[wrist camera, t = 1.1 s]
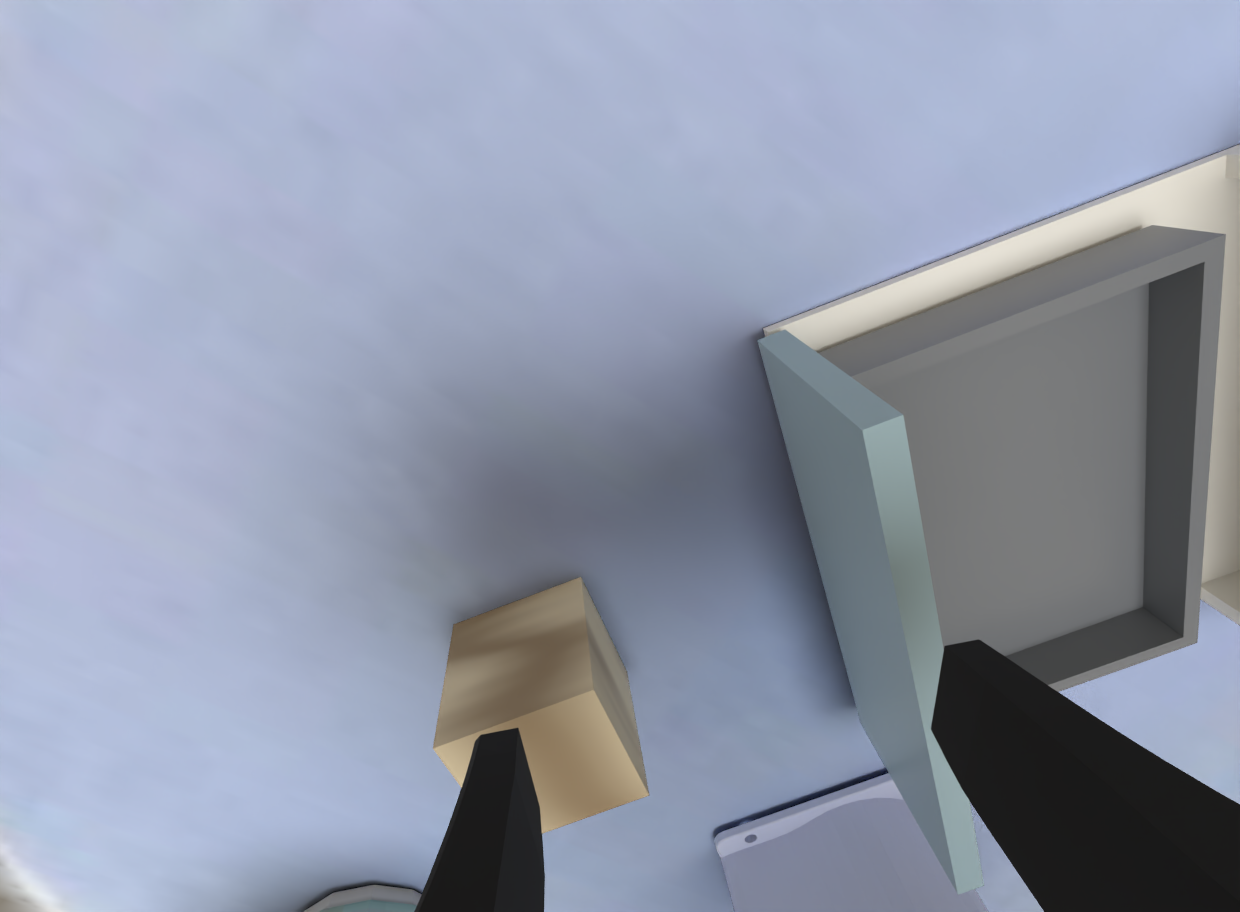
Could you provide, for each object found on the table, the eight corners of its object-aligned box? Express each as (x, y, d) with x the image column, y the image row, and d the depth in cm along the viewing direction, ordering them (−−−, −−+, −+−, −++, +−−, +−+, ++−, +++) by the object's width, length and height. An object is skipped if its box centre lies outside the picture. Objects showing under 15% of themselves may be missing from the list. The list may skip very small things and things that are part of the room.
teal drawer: (860, 724, 25) (958, 894, 19) (757, 340, 18) (862, 430, 12) (1144, 623, 24) (1329, 767, 19) (1152, 187, 17) (1454, 207, 12)
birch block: (509, 713, 24) (504, 846, 19) (453, 623, 22) (432, 748, 17) (626, 670, 23) (649, 795, 19) (580, 575, 21) (593, 689, 17)
